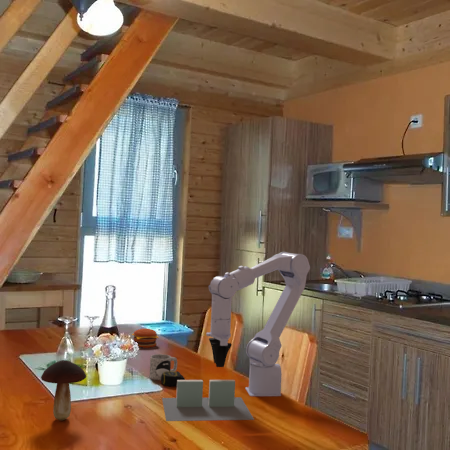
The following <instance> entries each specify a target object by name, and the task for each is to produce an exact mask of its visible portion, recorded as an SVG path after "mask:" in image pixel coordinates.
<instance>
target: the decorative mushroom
mask: <svg viewBox="0 0 450 450" xmlns="http://www.w3.org/2000/svg"><path fill="white" fill-rule="evenodd" d="M86 378H87V373H86V372H85V370H84V369H83V368H82V367H81V366H79V365H78V364H76V363H75V362H72V361H69V360H66V359H65V360H58V361H57V362H54V363H52V364H51V365H50V366H48V367H47V368H45V370H44V371H43V373H42V374H41V376H40V379H41V381H43V382H45V383H49V384H50V383H51V384H56V386H55V387H56V388H55V392H54V398H53V409H52V412H53V417H54V419H55V420H58V421H65V420H67V419H68V418H69V417H70V416H71V410H72V397H71V395H72V394H71V388H70V384H73V383H80V382H83V381H84V380H86Z"/></svg>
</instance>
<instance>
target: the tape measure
mask: <svg viewBox="0 0 450 450" xmlns="http://www.w3.org/2000/svg"><path fill="white" fill-rule="evenodd" d="M177 380H186V379H185V377H184V376H183V375H182V373H181V372H180V371H177V370H176V371H175V372H173V371H166V372H163V373H162V375H161V380H160V382H161V384H162V385H163V386H166V387H177Z"/></svg>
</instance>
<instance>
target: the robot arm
mask: <svg viewBox="0 0 450 450" xmlns="http://www.w3.org/2000/svg"><path fill="white" fill-rule="evenodd" d="M310 270H311V266H310V263H309V259H308V257H307V256H306V255H305V254H302V253H292V252H288V251H281V252H279V253H277V254H274V255H272V256H271V257H269V258H268V259H266V260H263V261H261V262H260V263H258V264H256V265H254V266H252V267H249V266H247V265H245V266H244V265H239V266H238V267H237V269H235V270H233V271H231V272H228V271H227V272H225V273H224V275H217V276H215V277H213V279H211V280H210V284H209V285H208V291H209V293H210V294H211V309H210V310H211V312H210V313H211V314H210V332H206V333H205V334H206V336H207V337H209V338H208V341H209V343H210V347H211V351H212V358H213V359H212V360H213V363H214V364H215V366H216V368H224V367H225V364H226V361H227V356H228V353H229V351H230V349H231V347H232V343H231V342H229V339H230V338H231V336H232V334H231V325H232V324H231V323H232V302H233V301H232V298H233V297H234V296H235V295H236V293H237V292H238V291H241V290H242V289H245V288H247V287H249V286H251V285H253V284H254V282H255V279H257V278H260V277H262V276H264V275H267V274H270V273H272V272H274V271H278V272H279V274H280V275H281V276H282V279H284V284H285V286H284V289H283V290H282V292H281V294H280V296H279V298H278V299H277V302H276V304H275V306H274V308H273V310H272V312H271V313H270V315H269V317H268V320H267V321H266V324H265V325H264V328H262V329H261V330H260V331H258V332H257V333H255V335H254V337H253V338H252V339H251V340H249V342H248V343H247V345H246V348H245V352H246V356H247V357H248V358H249V360H248V361H249V373H248V374H249V376H248V386H246V387H245V390H246V392H247V393H248V395H249V396H250V397H281V396H282V393H281V392H282V367H281V365H280V364H279V363H277V362H278V360H279V357H280V350H281V348H282V342H281V340H280V337H281V335H282V334H283V331H284V330H285V328H286V325H287V323H288V321H289V320H290V318H291V316H292V314H293V311H294V310H295V308H296V306H297V304H298V302H299V300H300V298H301V296H302V294H303V293H304V290H305V288H306V282H307V277H308V276H307V275H308V273H309V271H310Z"/></svg>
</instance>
